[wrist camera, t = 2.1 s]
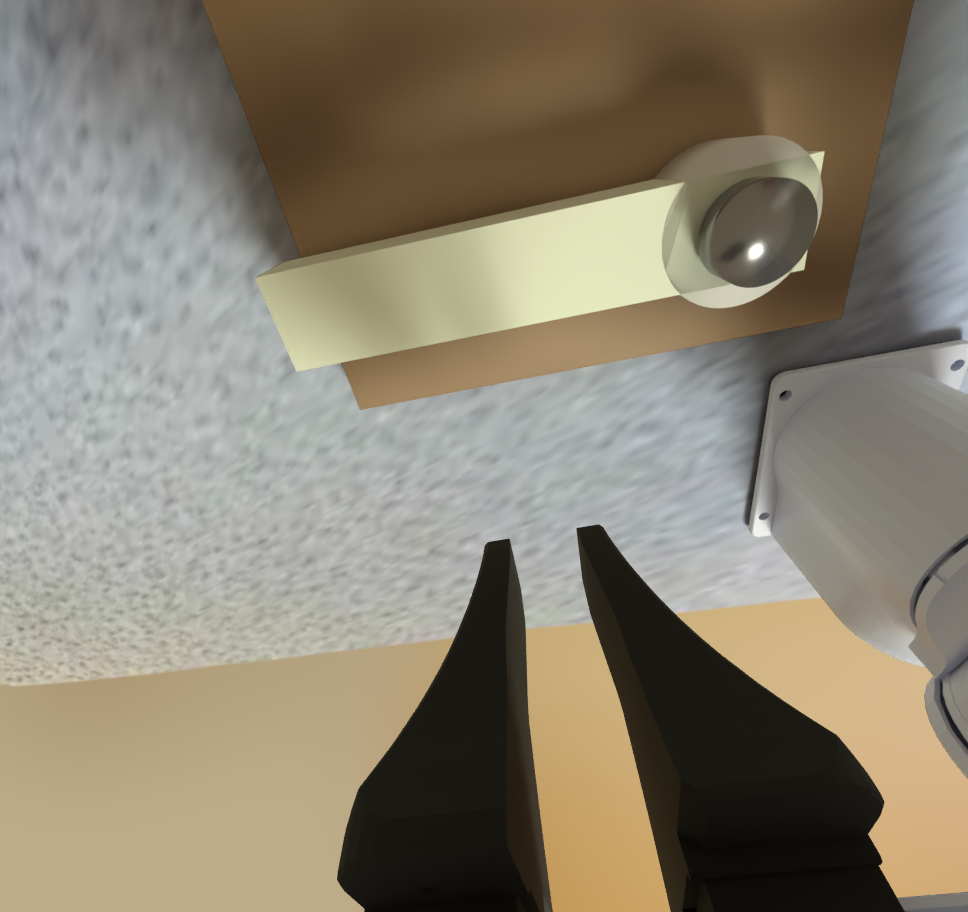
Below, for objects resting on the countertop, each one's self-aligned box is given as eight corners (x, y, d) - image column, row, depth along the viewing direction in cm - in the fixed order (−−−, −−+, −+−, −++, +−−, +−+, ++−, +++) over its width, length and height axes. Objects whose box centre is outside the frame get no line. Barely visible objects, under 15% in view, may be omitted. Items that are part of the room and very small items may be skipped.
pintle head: (786, 269, 13) (807, 277, 12) (695, 288, 14) (709, 296, 13) (802, 166, 12) (827, 166, 11) (700, 188, 12) (717, 190, 11)
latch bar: (782, 123, 14) (838, 116, 12) (763, 275, 16) (806, 292, 14) (275, 239, 15) (243, 252, 13) (325, 363, 18) (305, 390, 15)
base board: (816, 307, 19) (841, 318, 17) (367, 394, 20) (360, 409, 19) (1019, -728, 8) (1115, -886, 7) (81, -378, 10) (24, -457, 9)
